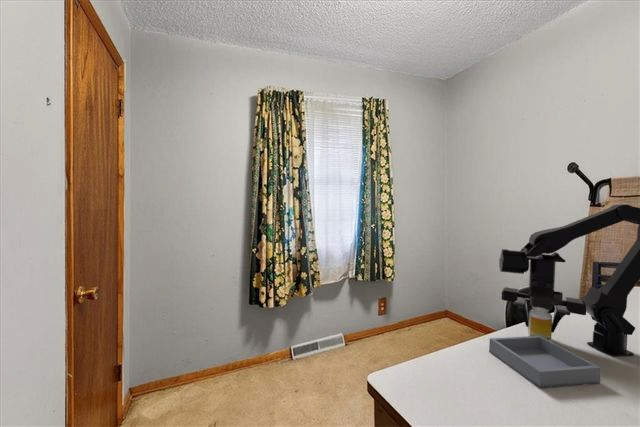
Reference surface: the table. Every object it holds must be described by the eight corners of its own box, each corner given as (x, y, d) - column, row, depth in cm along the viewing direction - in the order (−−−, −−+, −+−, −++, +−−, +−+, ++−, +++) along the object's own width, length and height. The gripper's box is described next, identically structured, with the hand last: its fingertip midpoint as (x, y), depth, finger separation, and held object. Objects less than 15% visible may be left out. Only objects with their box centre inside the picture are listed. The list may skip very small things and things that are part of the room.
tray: (539, 349, 75) (539, 335, 75) (599, 383, 61) (600, 367, 61) (489, 351, 74) (489, 338, 73) (539, 388, 59) (540, 371, 59)
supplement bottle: (555, 343, 79) (557, 308, 78) (533, 341, 80) (535, 307, 79) (544, 334, 84) (545, 302, 84) (524, 332, 85) (525, 300, 85)
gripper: (500, 275, 80) (498, 329, 81) (590, 288, 69) (587, 351, 70) (504, 268, 89) (502, 317, 90) (584, 279, 78) (582, 335, 78)
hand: (539, 329), depth 82 cm, fingers closed on supplement bottle, 5 cm apart
